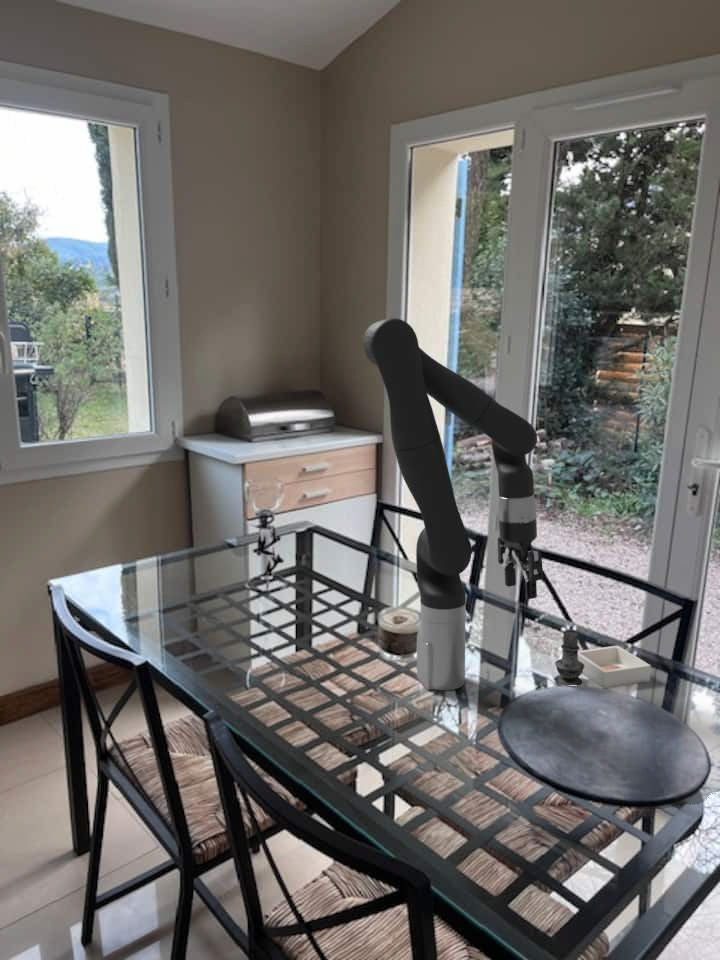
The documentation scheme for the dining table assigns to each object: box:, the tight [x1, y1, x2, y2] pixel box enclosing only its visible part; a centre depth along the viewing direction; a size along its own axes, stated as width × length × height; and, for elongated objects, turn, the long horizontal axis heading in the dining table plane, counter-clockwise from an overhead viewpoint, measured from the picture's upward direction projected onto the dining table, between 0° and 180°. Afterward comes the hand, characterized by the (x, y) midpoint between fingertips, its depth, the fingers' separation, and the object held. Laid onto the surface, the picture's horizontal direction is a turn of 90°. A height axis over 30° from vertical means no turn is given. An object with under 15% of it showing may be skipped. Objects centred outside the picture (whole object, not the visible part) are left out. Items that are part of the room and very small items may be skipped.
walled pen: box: [578, 645, 652, 689], centre depth 152 cm, size 11×11×4 cm
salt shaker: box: [554, 625, 585, 686], centre depth 148 cm, size 6×6×12 cm
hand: (520, 591), depth 150 cm, fingers open, 8 cm apart
